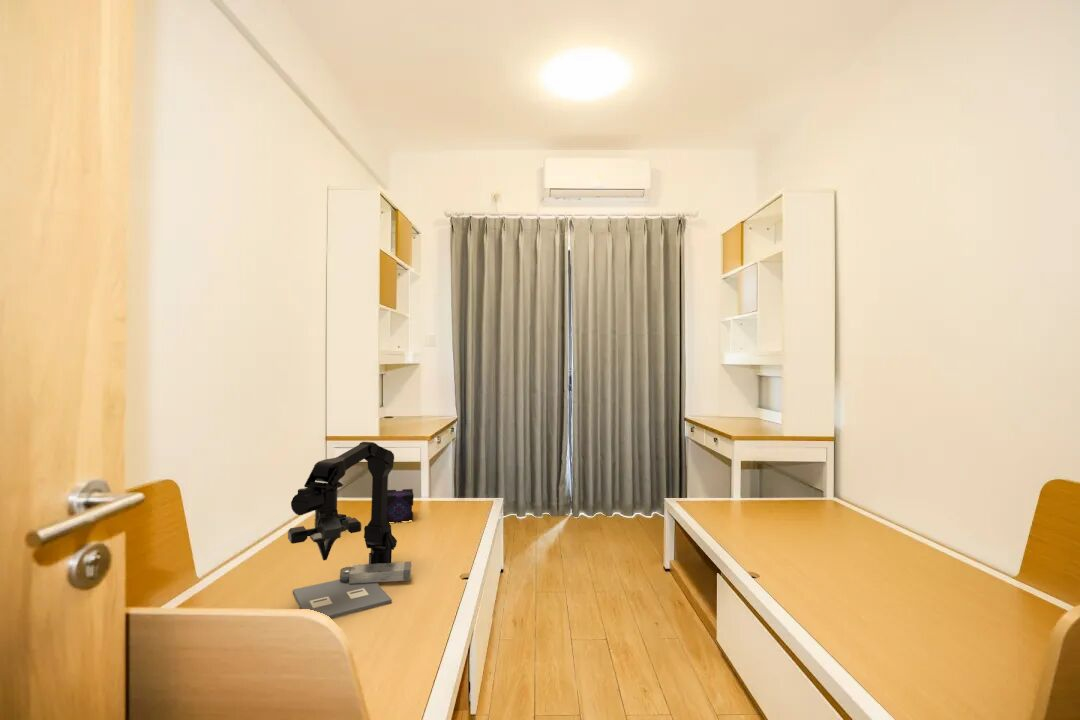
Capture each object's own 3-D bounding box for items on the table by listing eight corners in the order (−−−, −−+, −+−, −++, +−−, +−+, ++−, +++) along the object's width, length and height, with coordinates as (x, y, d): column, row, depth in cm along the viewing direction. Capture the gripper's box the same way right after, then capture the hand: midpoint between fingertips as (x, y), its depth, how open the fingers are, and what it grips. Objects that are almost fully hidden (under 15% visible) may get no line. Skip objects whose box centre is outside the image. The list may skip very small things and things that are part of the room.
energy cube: (384, 516, 221) (385, 490, 221) (411, 514, 224) (412, 488, 225) (384, 524, 209) (385, 496, 210) (412, 522, 213) (413, 495, 213)
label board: (368, 576, 155) (368, 572, 155) (391, 602, 137) (391, 599, 137) (292, 592, 142) (292, 589, 142) (307, 624, 124) (308, 620, 124)
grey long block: (337, 584, 145) (338, 574, 145) (342, 575, 152) (342, 565, 152) (409, 580, 150) (410, 569, 150) (410, 571, 156) (411, 561, 157)
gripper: (296, 518, 126) (294, 577, 126) (367, 507, 137) (366, 562, 137) (288, 507, 135) (286, 563, 134) (356, 498, 146) (354, 549, 146)
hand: (324, 559), depth 138 cm, fingers closed
